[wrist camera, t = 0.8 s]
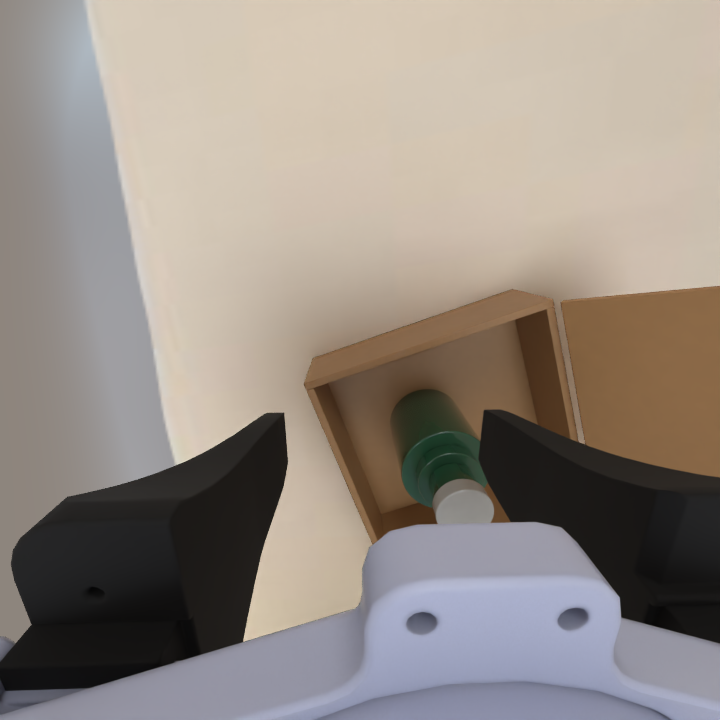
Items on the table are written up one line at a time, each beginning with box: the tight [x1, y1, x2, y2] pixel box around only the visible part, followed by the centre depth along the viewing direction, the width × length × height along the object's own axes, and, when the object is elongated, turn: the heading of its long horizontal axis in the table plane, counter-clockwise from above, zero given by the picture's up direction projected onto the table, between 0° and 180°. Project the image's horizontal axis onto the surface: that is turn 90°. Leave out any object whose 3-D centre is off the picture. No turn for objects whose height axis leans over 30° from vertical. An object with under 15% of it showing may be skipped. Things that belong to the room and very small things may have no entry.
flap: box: [561, 286, 720, 477], centre depth 16 cm, size 6×13×1 cm
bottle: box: [390, 389, 494, 524], centre depth 19 cm, size 5×5×8 cm
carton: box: [304, 289, 578, 544], centre depth 21 cm, size 13×13×4 cm
